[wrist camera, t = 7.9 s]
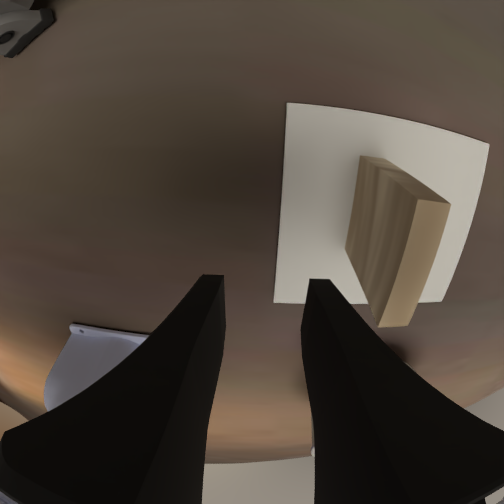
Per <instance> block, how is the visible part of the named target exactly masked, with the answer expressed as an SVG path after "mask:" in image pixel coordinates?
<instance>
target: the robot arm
mask: <svg viewBox="0 0 504 504" xmlns="http://www.w3.org/2000/svg"><path fill="white" fill-rule="evenodd" d="M69 328H70V330H71V333H72V334H71V336H70V337H69V339H68V341H67V342H66V344H65V346H64V348H63V349H62V351H61V353H60V355H59V356H58V358H57V360H56V362H55V364H54V365H53V367H52V369H51V371H50V373H49V375H48V377H47V379H46V383H45V388H44V402H45V406H46V408H47V411H48V412H46V413H45V414H43V415H41V416H39V417H37V418H34V419H32V420H30V421H28V422H26V423H23V424H21V425H19V426H17V427H15V428H12V429H10V430H8V431H5V432H4V434H3V436H2V439H1V441H0V504H202V489H203V474H204V462H205V451H206V440H207V430H208V424H209V418H210V413H211V408H212V404H213V399H214V394H215V390H216V385H217V381H218V376H219V371H220V367H221V362H222V357H223V350H224V340H225V330H226V318H225V294H224V275H205V274H203V275H202V276H201V277H200V278H199V279H198V280H197V282H196V283H195V284H194V285H193V287H192V288H191V289H190V291H189V292H188V293H187V294H186V295H185V297H184V298H183V299H182V300H181V302H180V303H179V304H178V305H177V306H176V307H175V308H174V310H173V311H172V312H171V313H170V314H169V315H168V316H167V318H166V319H165V320H164V321H163V322H162V323H161V324H160V325H159V326H158V327H157V328H156V329H155V330H154V331H153V332H152V333H151V334H150V335H143V334H135V333H128V332H121V331H114V330H108V329H102V328H95V327H90V326H84V325H78V324H71V325H70V327H69ZM301 345H302V359H303V365H304V371H305V377H306V383H307V389H308V395H309V401H310V407H311V413H312V419H313V428H314V449H315V497H314V504H486V502H485V497H487V496H488V495H490V494H492V493H494V492H495V491H497V490H499V489H500V488H502V487H503V486H504V431H503V430H501V429H499V428H497V427H495V426H493V425H491V424H489V423H487V422H485V421H483V420H481V419H480V418H478V417H476V416H475V415H473V414H471V413H470V412H468V411H467V410H465V409H463V408H462V407H460V406H459V405H457V404H456V403H454V402H453V401H452V400H450V399H449V398H447V397H446V396H445V395H443V394H442V393H441V392H439V391H438V390H437V389H435V388H434V387H433V386H431V385H430V384H429V383H428V382H426V381H425V380H424V379H423V378H421V377H420V376H419V375H418V374H417V373H416V372H415V371H414V370H412V369H411V368H410V367H409V366H408V365H407V364H406V363H405V362H403V361H402V360H401V359H400V358H399V357H398V356H397V355H396V354H395V353H394V352H393V351H392V350H391V349H390V348H389V347H388V346H387V345H386V344H385V343H384V342H383V341H382V340H381V339H380V338H379V337H378V336H377V334H376V333H375V332H374V331H373V330H372V329H371V328H370V327H369V326H368V324H367V323H366V322H365V321H364V320H363V319H362V317H361V316H360V315H359V314H358V313H357V312H356V310H355V309H354V308H353V307H352V306H351V304H350V303H349V302H348V301H347V299H346V298H345V297H344V296H343V295H342V293H341V292H340V291H339V290H338V288H337V287H336V286H335V285H334V284H333V282H332V281H331V280H330V279H310V278H309V284H308V290H307V296H306V302H305V308H304V313H303V319H302V324H301ZM497 504H504V497H503V500H501V501H500V502H498V503H497Z"/></svg>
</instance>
